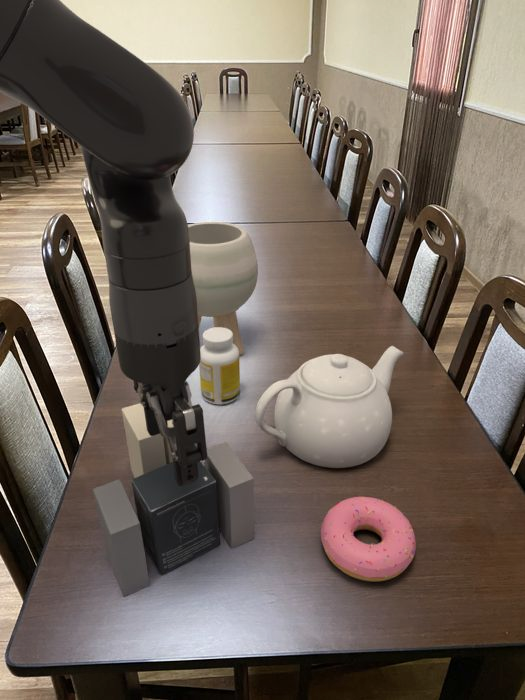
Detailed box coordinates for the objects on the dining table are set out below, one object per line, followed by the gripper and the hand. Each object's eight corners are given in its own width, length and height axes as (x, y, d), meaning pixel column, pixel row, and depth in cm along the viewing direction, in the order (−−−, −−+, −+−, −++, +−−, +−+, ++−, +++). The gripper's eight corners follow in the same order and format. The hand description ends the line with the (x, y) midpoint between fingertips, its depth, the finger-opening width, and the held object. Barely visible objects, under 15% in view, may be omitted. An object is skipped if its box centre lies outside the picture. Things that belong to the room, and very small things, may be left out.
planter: (158, 359, 99) (145, 242, 87) (194, 320, 112) (188, 214, 100) (240, 375, 95) (238, 255, 83) (268, 332, 108) (270, 223, 96)
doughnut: (315, 581, 60) (317, 556, 58) (323, 506, 69) (325, 482, 67) (416, 596, 58) (422, 572, 56) (410, 518, 67) (415, 494, 65)
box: (199, 514, 68) (194, 451, 62) (221, 545, 64) (217, 480, 58) (140, 542, 64) (129, 477, 59) (159, 577, 60) (150, 511, 54)
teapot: (283, 390, 91) (285, 318, 84) (394, 408, 87) (406, 334, 80) (253, 464, 75) (252, 385, 68) (386, 490, 71) (400, 409, 64)
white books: (148, 506, 69) (138, 440, 63) (131, 472, 74) (121, 408, 68) (195, 488, 72) (189, 423, 66) (176, 456, 77) (169, 394, 71)
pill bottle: (246, 389, 91) (246, 329, 85) (229, 410, 86) (227, 348, 80) (212, 380, 93) (209, 321, 87) (193, 400, 88) (189, 339, 82)
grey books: (123, 597, 58) (110, 534, 53) (106, 549, 63) (92, 488, 58) (254, 538, 65) (253, 478, 59) (228, 500, 70) (226, 441, 65)
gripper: (94, 298, 52) (117, 428, 60) (140, 369, 41) (161, 515, 50) (167, 282, 55) (180, 408, 63) (228, 345, 44) (233, 486, 53)
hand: (171, 455), depth 57 cm, fingers open, 8 cm apart
